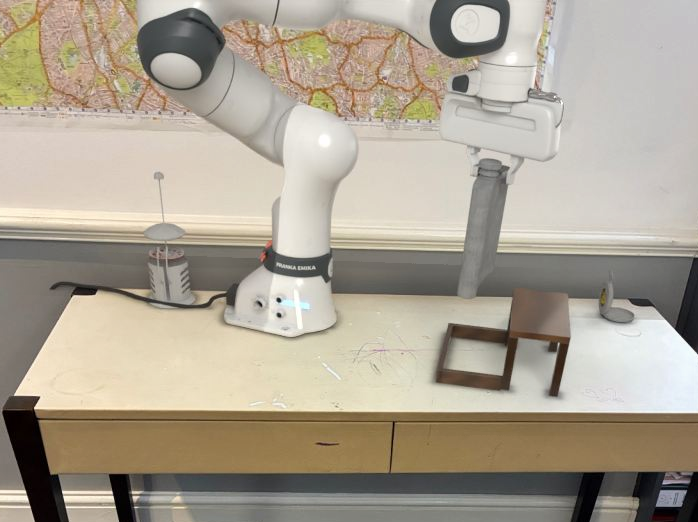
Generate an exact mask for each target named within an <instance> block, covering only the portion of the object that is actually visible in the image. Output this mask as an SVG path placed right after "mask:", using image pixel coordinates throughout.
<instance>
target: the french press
mask: <svg viewBox="0 0 698 522" xmlns="http://www.w3.org/2000/svg"><path fill="white" fill-rule="evenodd" d="M153 179H154V180H157V181H158V186H159V187H158V188H159V197H160V205H161V206H160V207H161V215H162V222H159V223H155V224H152V225H150V226H148V227H147V228H146V229H145V230H144V231H143V235H144V237H145V238H146V239H148V240H150V241H157V242H164V244H165V246H159V245H158V246H157V247H154V248H152V249H150V251H148V256H149V257H148V259H147V266H148V273H149V280H150V281H149V282H150V283H149V284H150V291H151V294H150V295H149V296H148V298H150V299H154V300H158V301H163V302H170V303H179V304H186V305H193V304H194V302H195V301H196V300H197V299H196V295H194V294H193V292H191V287H189V286H190V285H191V284H190V283H191V282H190V281H189V280H190V276H189V275H188V274H190V273H189V271H190V270H189V269H186V268H188V267H189V262H188V258H187V257H186V256H185V255H186V251H185V250H184V249H182V248H179V247H177V246H168V245H167V244H168V243H167V242H171V241H174V240H175V241H176V240H178V239H181V238H183V237H184V236H185V234H186V230H185V229H183V228H182V227H181V226H178V225H176V224H174V223H169V222H165V215H164V205H163V198H162V187H161V180H164V179H165V175H164V173H163V172H161V171H155V172H154V173H153ZM148 304H150V305H151V306H153V307H156V308H161V309H181V308H180V307H172V306H167V305H162V304H156V303H151V302H148Z"/></svg>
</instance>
